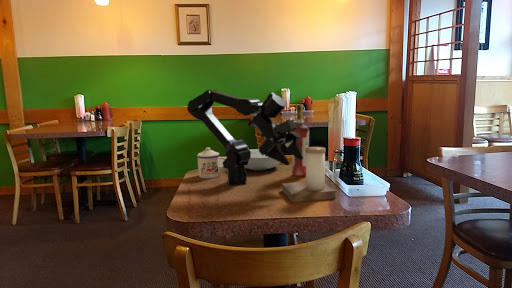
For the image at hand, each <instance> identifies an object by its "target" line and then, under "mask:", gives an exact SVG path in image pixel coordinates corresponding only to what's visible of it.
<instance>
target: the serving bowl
mask: <svg viewBox="0 0 512 288" xmlns="http://www.w3.org/2000/svg"><path fill="white" fill-rule="evenodd" d="M249 150H250V152H251V157H250V159H249V161H248V165H245V166H244V167H245V169H248V170H250V171H251V170H252V171H265V170H269V169H272V168H276V167H277V166H278V165H279V164H281V162H279V161H277V160H275V159H272V158H270V157H268V156H267V157H266V156H265V155H261V153H260V152H259V148H255V149H254V148H253V149H249Z"/></svg>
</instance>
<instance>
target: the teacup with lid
mask: <svg viewBox="0 0 512 288" xmlns="http://www.w3.org/2000/svg"><path fill="white" fill-rule="evenodd" d="M196 158H197V169H198V171H197V172H198V174H197V175H198V177H199V178H201V179H214V178H218V177H220V175H221V170H223V169H225V168H224V166H223V165H222V167H221V166H220V160H223V161H224V160H225V159H226V158H225V157H222V156H221V155H220V152H218V151H214V150H213V149H211V147H205V149H204V150H203V151H201V152H198V154H197V155H196Z"/></svg>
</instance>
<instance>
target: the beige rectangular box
mask: <svg viewBox="0 0 512 288" xmlns="http://www.w3.org/2000/svg"><path fill="white" fill-rule="evenodd" d="M281 191H282V193H284V195H285V196H287V198H288V199H289V200H290V201H291V202H292V203H297V202H308V201H321V200H323V201H324V200H335V199H336V190H335V189H334V188H332V187H331V186H329V184H327V183H325V189H324V190H320V191H312V190H308V189H306V181H298V182H296V181H295V182H287V183H286V182H284V183H281Z"/></svg>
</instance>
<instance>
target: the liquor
mask: <svg viewBox="0 0 512 288" xmlns="http://www.w3.org/2000/svg"><path fill="white" fill-rule="evenodd" d="M295 108H296V110H295V111H296V117H295V118H296V119H295V121H296V122H297V123H296V129H292V130H290V133H292V132H297V133H298V134H299V135H300V137H299V141H298V146H299V149H300V151H301V154H302V156H303V159H302V160H299V159H298V158H296V157H295V156H294V155H292V154H291V158H292V159H291V160H292V171H291V174H292V175H293V176H295V177H297V178H303V177H305V178H306V152H305V148H307V147H310V127H309V126H307V125H305V124H304V122H305V121H304V115H303V114H304V113H303V112H304V104H296V105H295Z"/></svg>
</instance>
